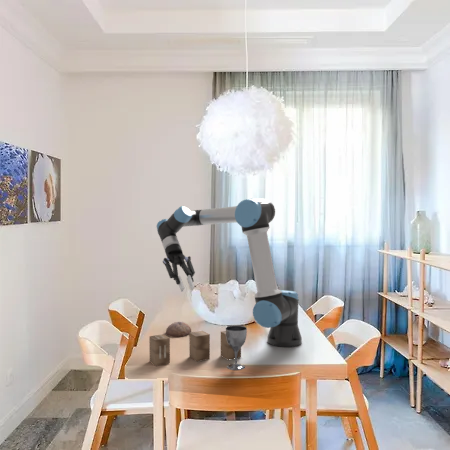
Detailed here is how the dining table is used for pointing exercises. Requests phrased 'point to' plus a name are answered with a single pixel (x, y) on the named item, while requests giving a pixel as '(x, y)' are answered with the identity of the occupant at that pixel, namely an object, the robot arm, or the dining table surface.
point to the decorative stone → (178, 329)
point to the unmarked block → (199, 345)
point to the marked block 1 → (159, 349)
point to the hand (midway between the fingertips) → (187, 289)
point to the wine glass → (236, 342)
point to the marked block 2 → (227, 348)
